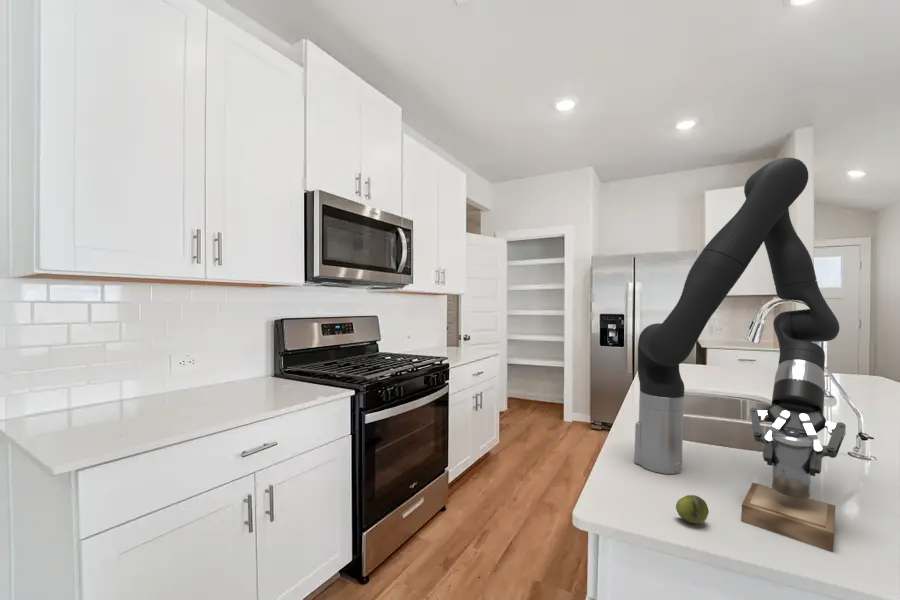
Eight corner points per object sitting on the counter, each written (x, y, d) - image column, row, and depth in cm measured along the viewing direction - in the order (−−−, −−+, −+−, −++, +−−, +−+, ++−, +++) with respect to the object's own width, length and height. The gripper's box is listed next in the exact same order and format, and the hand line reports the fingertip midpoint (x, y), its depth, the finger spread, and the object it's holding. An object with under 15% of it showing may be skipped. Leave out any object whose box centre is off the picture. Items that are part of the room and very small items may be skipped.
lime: (671, 519, 73) (672, 491, 73) (690, 513, 75) (690, 486, 75) (695, 532, 69) (696, 503, 69) (714, 526, 71) (715, 498, 71)
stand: (741, 520, 73) (741, 502, 73) (752, 497, 82) (752, 481, 81) (833, 551, 65) (834, 531, 64) (834, 521, 73) (835, 504, 73)
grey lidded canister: (767, 490, 73) (769, 431, 73) (772, 480, 77) (773, 423, 77) (811, 502, 69) (813, 439, 68) (813, 490, 73) (815, 431, 73)
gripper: (751, 371, 83) (738, 446, 74) (850, 383, 73) (848, 471, 64) (754, 393, 87) (743, 466, 78) (849, 407, 77) (847, 492, 68)
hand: (790, 468), depth 71 cm, fingers closed on grey lidded canister, 5 cm apart
